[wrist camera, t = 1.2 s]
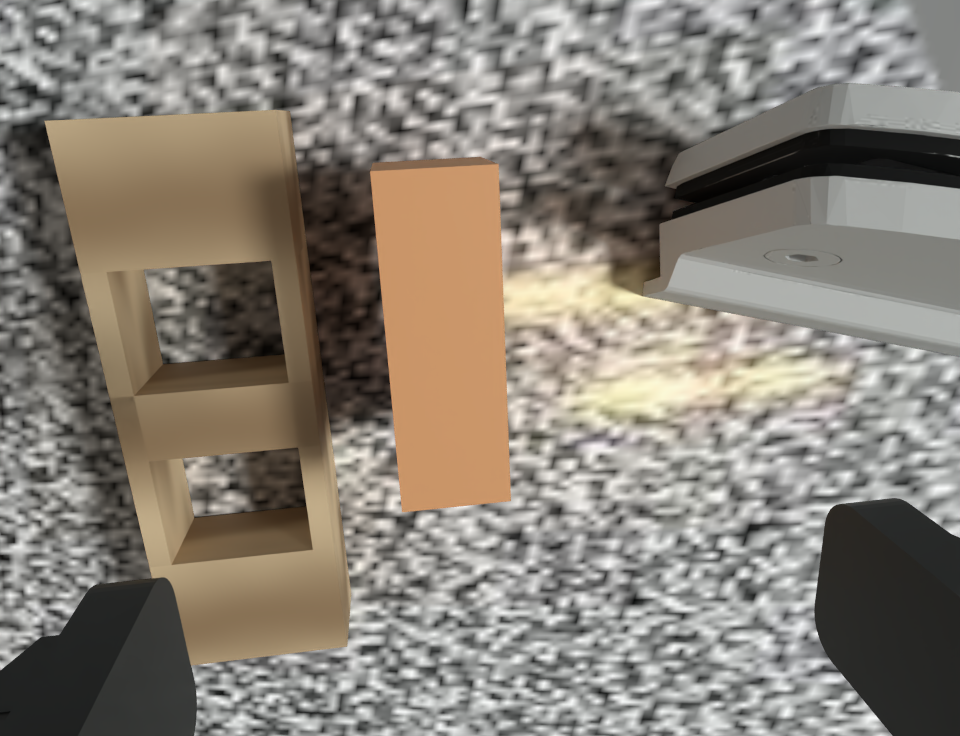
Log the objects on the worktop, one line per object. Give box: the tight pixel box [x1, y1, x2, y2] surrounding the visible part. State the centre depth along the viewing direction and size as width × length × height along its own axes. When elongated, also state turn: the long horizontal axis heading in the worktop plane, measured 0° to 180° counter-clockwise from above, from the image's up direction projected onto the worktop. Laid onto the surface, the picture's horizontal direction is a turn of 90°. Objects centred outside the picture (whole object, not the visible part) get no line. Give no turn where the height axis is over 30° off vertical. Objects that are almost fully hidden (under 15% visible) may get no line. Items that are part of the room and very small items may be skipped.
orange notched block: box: [370, 157, 511, 512], centre depth 21 cm, size 9×3×7 cm, turn 3°
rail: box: [45, 110, 351, 665], centre depth 24 cm, size 18×6×3 cm, turn 3°
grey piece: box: [643, 83, 960, 357], centre depth 22 cm, size 17×5×10 cm, turn 78°
